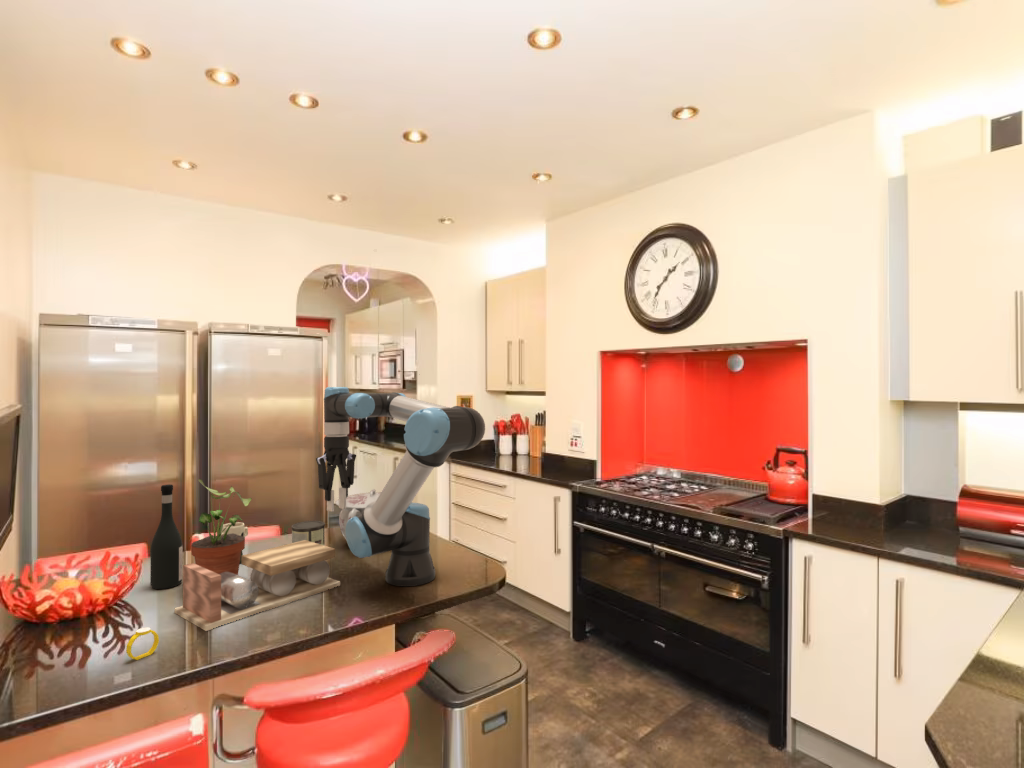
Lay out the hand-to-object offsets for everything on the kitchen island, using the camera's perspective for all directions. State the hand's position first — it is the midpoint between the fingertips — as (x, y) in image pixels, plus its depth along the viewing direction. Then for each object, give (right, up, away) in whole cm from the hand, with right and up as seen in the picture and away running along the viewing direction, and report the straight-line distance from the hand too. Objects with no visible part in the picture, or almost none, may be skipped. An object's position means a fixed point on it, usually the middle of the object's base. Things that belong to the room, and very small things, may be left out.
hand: (336, 509), depth 171 cm
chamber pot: (+2, -21, +34) cm, 40 cm away
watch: (-26, -20, -52) cm, 62 cm away
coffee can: (-12, -21, +7) cm, 25 cm away
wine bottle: (-48, -21, -9) cm, 53 cm away
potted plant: (-32, -21, -9) cm, 39 cm away
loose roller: (-19, -19, -26) cm, 37 cm away
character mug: (-39, -21, +11) cm, 46 cm away
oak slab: (-10, -12, -13) cm, 20 cm away
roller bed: (-14, -20, -19) cm, 32 cm away
